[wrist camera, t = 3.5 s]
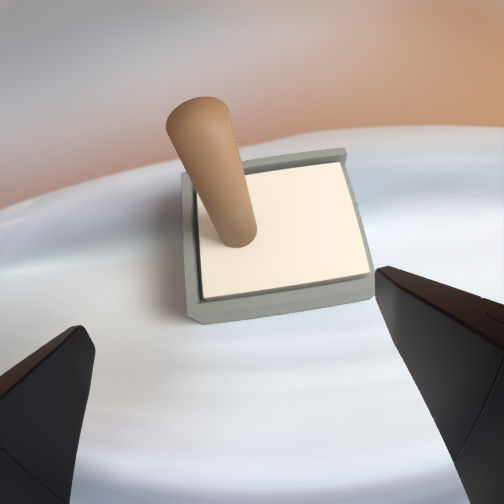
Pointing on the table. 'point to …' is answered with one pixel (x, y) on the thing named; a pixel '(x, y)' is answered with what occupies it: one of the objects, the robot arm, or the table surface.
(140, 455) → the table surface
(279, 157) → the box
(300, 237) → the cover plate
